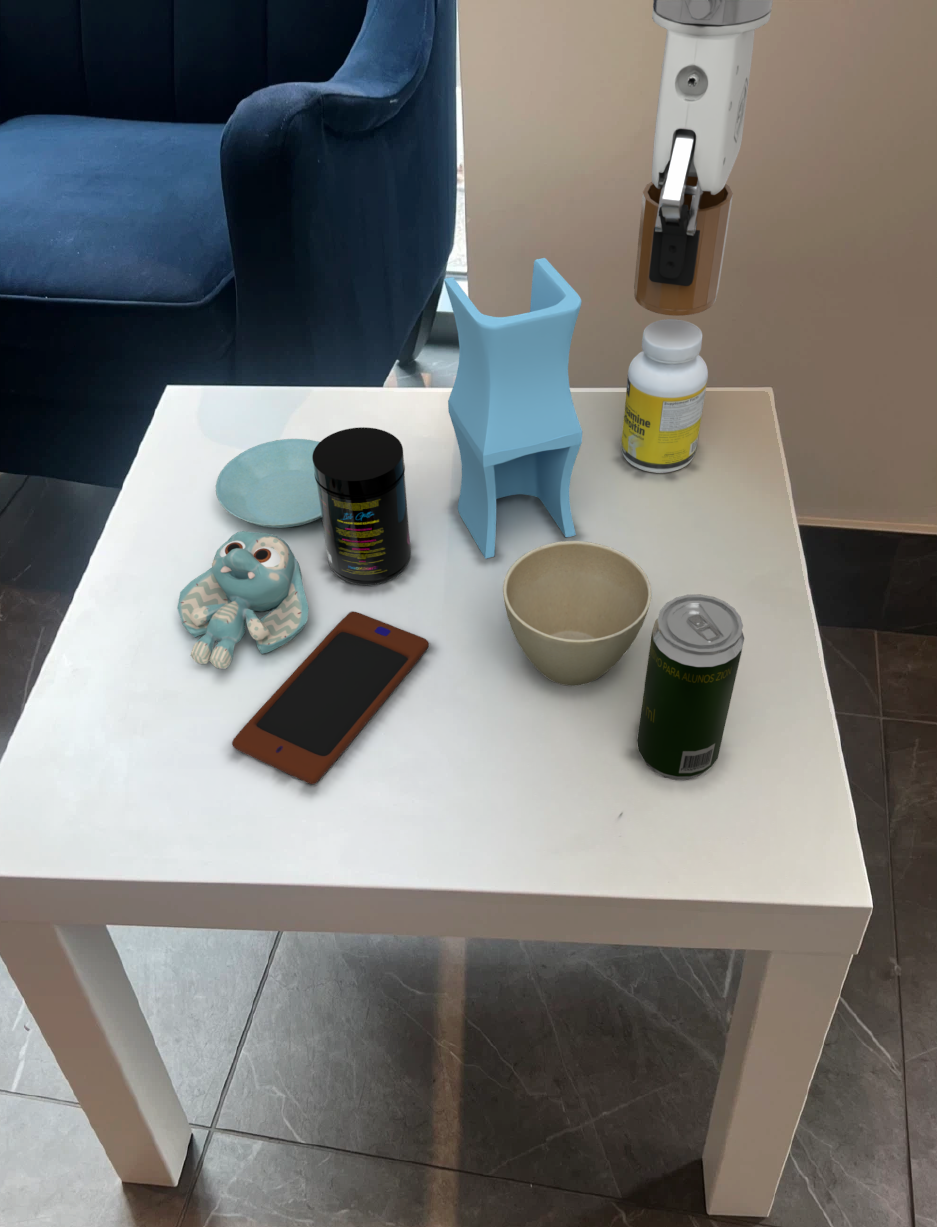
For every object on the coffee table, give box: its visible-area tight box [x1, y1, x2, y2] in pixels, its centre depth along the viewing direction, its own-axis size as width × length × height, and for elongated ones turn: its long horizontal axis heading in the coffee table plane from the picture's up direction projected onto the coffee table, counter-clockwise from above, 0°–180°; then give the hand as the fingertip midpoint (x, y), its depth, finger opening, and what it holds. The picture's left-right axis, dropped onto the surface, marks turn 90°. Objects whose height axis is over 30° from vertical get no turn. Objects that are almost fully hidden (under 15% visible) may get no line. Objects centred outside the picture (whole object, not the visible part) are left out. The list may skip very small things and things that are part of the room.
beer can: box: [636, 593, 745, 781], centre depth 69 cm, size 5×5×12 cm
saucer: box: [215, 438, 322, 529], centre depth 94 cm, size 12×12×2 cm
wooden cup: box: [633, 176, 734, 317], centre depth 83 cm, size 6×6×8 cm
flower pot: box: [502, 540, 653, 687], centre depth 77 cm, size 10×10×7 cm
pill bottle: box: [620, 318, 709, 474], centre depth 92 cm, size 6×6×12 cm
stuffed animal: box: [176, 530, 310, 670], centre depth 82 cm, size 11×7×12 cm
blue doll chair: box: [443, 257, 583, 560], centre depth 84 cm, size 8×8×20 cm
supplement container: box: [312, 426, 412, 586], centre depth 85 cm, size 7×7×10 cm
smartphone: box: [231, 610, 430, 785], centre depth 78 cm, size 7×1×15 cm
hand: (680, 258), depth 84 cm, fingers closed on wooden cup, 6 cm apart
